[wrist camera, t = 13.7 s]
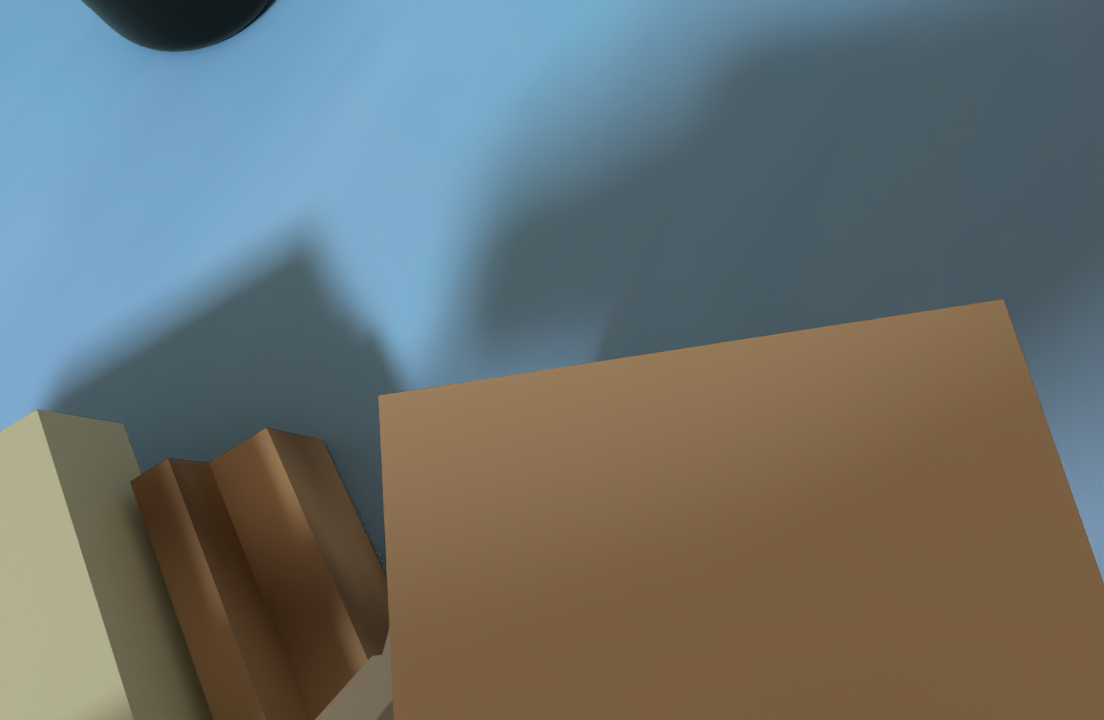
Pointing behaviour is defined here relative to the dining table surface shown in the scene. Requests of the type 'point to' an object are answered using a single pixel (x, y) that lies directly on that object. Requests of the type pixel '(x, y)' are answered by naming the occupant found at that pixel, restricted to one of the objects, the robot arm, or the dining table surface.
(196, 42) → the supplement bottle
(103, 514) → the cover
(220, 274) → the dining table surface
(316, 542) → the board
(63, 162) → the dining table surface
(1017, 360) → the tall tan square prism
